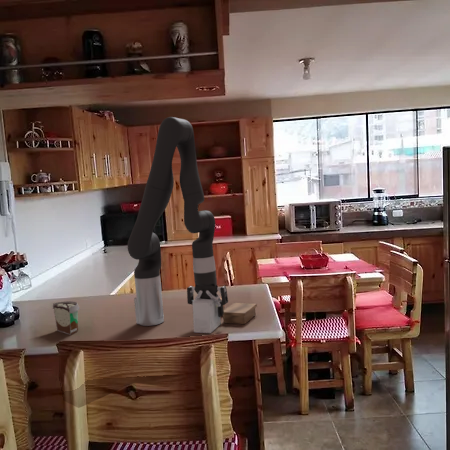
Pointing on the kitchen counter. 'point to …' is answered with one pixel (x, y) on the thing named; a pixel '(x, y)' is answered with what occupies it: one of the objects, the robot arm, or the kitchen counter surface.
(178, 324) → the kitchen counter surface
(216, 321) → the skincare box
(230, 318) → the stand
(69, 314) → the food container
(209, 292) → the robot arm
